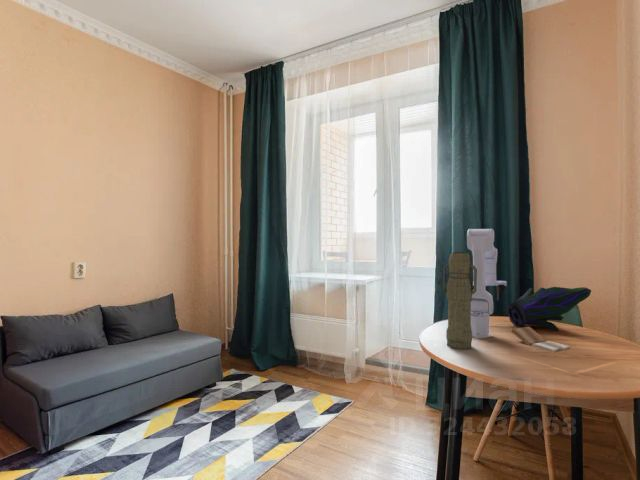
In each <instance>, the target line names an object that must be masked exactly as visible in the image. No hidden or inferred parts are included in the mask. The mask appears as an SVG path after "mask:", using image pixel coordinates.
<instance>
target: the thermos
mask: <svg viewBox="0 0 640 480" xmlns="http://www.w3.org/2000/svg"><path fill="white" fill-rule="evenodd" d="M447 267H448V273H449V274H448V281H447V282H446V268H447ZM471 268H472V270H471ZM473 270H474V286H473V282H472V280H471V271H473ZM446 283H447V284H446ZM476 284H477V269H476V267H475V266H474V265H473V264H471V257H470V254H469V252H466V251H453V252H451V253H450V255H449V259H448V263H445V264H444V265H443V267H442V291H443V292H445V293H446V299H447V301H448V302H447V304H448V305H447V328H446V331H445V332H446V347H448V346H449V347H448V348H450V347H451V349H454V350H460V349H462V351H463V350H464V351H465V350H466V349H467V350H471V349H472V347H473V346H472V341H473V337H472V330H471V301H472V294H474V293H475V292H476ZM473 290H474V291H473Z"/></svg>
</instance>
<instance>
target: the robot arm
mask: <svg viewBox="0 0 640 480" xmlns="http://www.w3.org/2000/svg"><path fill="white" fill-rule="evenodd" d="M494 242H495V230H494V229H493V228H468V230H467V232H466V247H467V250H470V251H471V254H472V265H474V266H475V267H476V269H477V284H476V292H475V293H474V294H472V301H471V330H472V338H474V339H475V338H476V339H484V338H490V337H494V334H491V333H490V315H492V314H493V313H494V299H493V297H494V296H493V295H492V294H491V293H490V292H489V291H488V290H486V289H487V288H486V287H492V286H495V287H496V301H497V302H500V301H501V298H502V294H503V293H504V291H505V289H506V287H507V286H508V285H507V284H508V283H507V282H508V281H506V280H497V263H498V248H496V247H495V246H494ZM472 272H473V273H472V274H473V275H472V277H473V281H472V287H474V270H473V269H472ZM472 290H473V291H474V289H472Z"/></svg>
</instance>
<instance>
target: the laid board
mask: <svg viewBox="0 0 640 480" xmlns="http://www.w3.org/2000/svg"><path fill="white" fill-rule="evenodd" d="M530 346H531V347H534V348H538V349H541V350H544V351H545V350H546V351H548V352H553V353H555V352H558V351H562V350H566V349H567V350H568V349H570V348H571V346H570V345H567V344H562V343H559V342H555V341H554V342H553V341H550V340H546V341H543V342H538V343H533V344H531V345H530Z"/></svg>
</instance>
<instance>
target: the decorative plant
mask: <svg viewBox="0 0 640 480" xmlns="http://www.w3.org/2000/svg"><path fill="white" fill-rule="evenodd" d="M533 289H534V288H531V287H530V288H529V289H527V291H526V292H525V293H524V294H523V295H521V296H520V297H519V298H518V299H516V300H514V301H513V302H511V303H508V304H506V309H505V311H506V312H505V313H506V314H507V315H508V317H509V321H510V322H511V323H512V325H513V326H518V327H523V326H542V327H545V328H549V329H552V330H553V331H559V329H560V327H557V326H556V324H555V323H553V322H552V321H558V322H560V321H561V322H562V321H563V319H564V318H565V317H564V316H562V315H564V314H567V313H569V312H570V311H571V310H572V309H574V308H575V307H576V306H577V305H578V304H580V303H582V302H584V300H586V299H588V298H589V296H591V293H592V290H591V289H590V288H588V287H585V286H584V287H575V288H569V287H568V288H567V287H560V286H552V287H548V288H545V287H540V288H538V290H536V291H535V292H534V293H532V292H533Z"/></svg>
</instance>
